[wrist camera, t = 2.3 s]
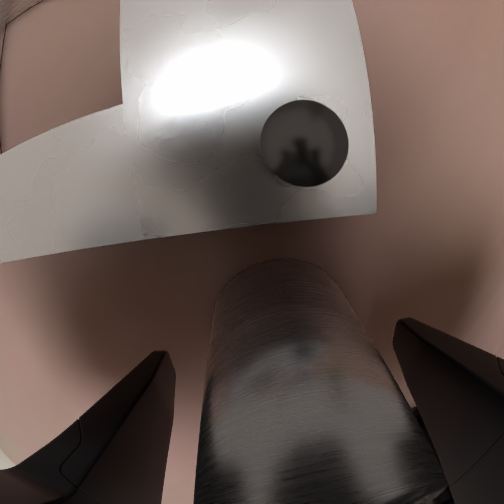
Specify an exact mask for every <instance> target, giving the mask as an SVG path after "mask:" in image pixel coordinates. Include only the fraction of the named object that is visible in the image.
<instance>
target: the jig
mask: <svg viewBox="0 0 504 504" xmlns="http://www.w3.org/2000/svg"><path fill="white" fill-rule="evenodd" d="M40 1H42V0H0V63H1V54H2V46H3V39H4V33H5V28H6V24H7V23H9V22H10V21H11V20H13V19H14V18H16V17H17V16H18V15H20V14H21V13H23V12H24V11H26V10H27V9H29V8H30V7H32V6H33V5H35V4H37V3H38V2H40ZM120 66H121V84H122V98H123V104H121V105H117V106H114V107H111V108H108V109H105V110H102V111H99V112H96V113H93V114H90V115H87V116H84V117H81V118H79V119H76V120H73V121H71V122H68V123H66V124H63V125H61V126H58V127H56V128H54V129H51V130H49V131H47V132H44V133H42V134H40V135H38V136H36V137H34V138H31V139H29V140H27V141H25V142H23V143H21V144H19V145H17V146H15V147H13V148H12V149H10V150H8V151H6V152H4V153H2V154H1V149H0V263H4V262H10V261H15V260H21V259H26V258H32V257H38V256H43V255H49V254H55V253H61V252H67V251H73V250H80V249H86V248H92V247H99V246H105V245H112V244H119V243H125V242H132V241H139V240H146V239H153V238H161V237H168V236H175V235H183V234H191V233H198V232H206V231H214V230H223V229H231V228H239V227H248V226H257V225H265V224H274V223H284V222H293V221H303V220H313V219H323V218H333V217H344V216H355V215H366V214H377V181H376V154H375V138H374V126H373V115H372V105H371V97H370V89H369V82H368V75H367V69H366V63H365V57H364V52H363V46H362V41H361V36H360V32H359V27H358V23H357V19H356V14H355V10H354V7H353V3H352V0H121V2H120Z"/></svg>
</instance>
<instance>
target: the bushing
mask: <svg viewBox="0 0 504 504" xmlns="http://www.w3.org/2000/svg"><path fill="white" fill-rule="evenodd" d="M447 485H448V482H447V480H446V478H445V476H444V473H443V471H442V469H441V467H440V465H439V463H438V461H437V459H436V457H435V454H434V452H433V450H432V448H431V446H430V444H429V442H428V440H427V438H426V436H425V434H424V432H423V431H422V429H421V427H420V425H419V423H418V421H417V419H416V417H415V415H414V413H413V411H412V410H411V408H410V406H409V404H408V402H407V400H406V399H405V397H404V395H403V393H402V391H401V389H400V388H399V386H398V384H397V382H396V381H395V379H394V377H393V375H392V374H391V372H390V370H389V368H388V367H387V365H386V363H385V361H384V360H383V358H382V356H381V355H380V353H379V351H378V349H377V348H376V346H375V344H374V343H373V341H372V339H371V338H370V336H369V334H368V333H367V331H366V330H365V328H364V326H363V325H362V323H361V321H360V320H359V318H358V317H357V315H356V313H355V312H354V310H353V309H352V307H351V305H350V304H349V302H348V301H347V299H346V298H345V296H344V294H343V293H342V291H341V290H340V288H339V287H338V285H337V284H336V282H335V281H334V280H333V278H332V277H331V276H330V275H329V274H327V273H326V272H325V271H324V270H322V269H321V268H319V267H317V266H315V265H313V264H310V263H307V262H304V261H299V260H293V259H276V260H270V261H265V262H262V263H259V264H256V265H254V266H251V267H249V268H247V269H245V270H244V271H242V272H240V273H239V274H238V275H236V276H235V277H234V278H233V279H232V280H231V281H230V282H229V283H228V284H227V285H226V286H225V287H224V289H223V290H222V291H221V293H220V295H219V297H218V299H217V302H216V304H215V308H214V313H213V321H212V328H211V336H210V344H209V352H208V360H207V368H206V377H205V386H204V394H203V404H202V413H201V423H200V433H199V443H198V454H197V465H196V477H195V490H194V504H427V503H429V502H430V501H432V500H433V499H434V498H436V497H437V496H438V495H439V494H440V493H442V492H443V491H444V489H445V488H446V487H447Z"/></svg>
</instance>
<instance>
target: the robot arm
mask: <svg viewBox="0 0 504 504" xmlns="http://www.w3.org/2000/svg"><path fill="white" fill-rule="evenodd" d="M393 348H394V350H395V353H396V356H397V359H398V361H399V364H400V367H401V370H402V372H403V375H404V378H405V381H406V383H407V386H408V388H409V390H410V393H411V395H412V397H413V399H414V401H415V403H416V405H417V408H418V409H417V410H414V411H413V413H414V415H415V417H416V419H417V421H418V423H419V425H420V427H421V429H422V431H423V432H424V434H425V436H426V438H427V440H428V442H429V444H430V446H431V448H432V450H433V452H434V454H435V457H436V459H437V461H438V463H439V465H440V467H441V469H442V471H443V473H444V476H445V478H446V480H447V482H448V485H447V487H446V488H445V489H444V491H443V492H442V493H440V494H439V495H438V496H437V497H436V498H434V499H433V500H432V501H430V502H429V503H427V504H504V359H502V358H499V357H496V356H495V355H493V354H490V353H488V352H486V351H484V350H482V349H479V348H477V347H475V346H473V345H471V344H468V343H466V342H464V341H462V340H459V339H457V338H455V337H453V336H450V335H448V334H446V333H444V332H442V331H439V330H437V329H435V328H433V327H430V326H428V325H426V324H424V323H421V322H419V321H417V320H415V319H412V318H410V317H407V318H403V319H399V320H398V321H397V323H396V327H395V332H394V337H393ZM175 380H176V374H175V369H174V367H173V364H172V361H171V359H170V356H169V353H168V352H167V351H165V350H161V351H153V352H152V353H151V354H149V355H148V356H147V357H146V358H145V359H144V360H143V361H142V362H141V363H140V364H138V365H137V366H136V367H135V368H134V369H133V370H132V371H131V372H130V373H129V374H127V375H126V376H125V377H124V378H123V379H122V380H121V381H120V382H119V383H117V384H116V385H115V386H114V387H113V388H112V389H111V390H110V391H109V392H107V393H106V394H105V395H104V396H103V397H102V398H101V399H100V400H99V401H97V402H96V403H95V404H94V405H93V406H92V407H91V408H90V409H88V410H87V411H86V412H85V413H84V414H83V415H82V416H81V417H80V418H79V419H77V420H76V421H75V422H74V423H73V424H72V425H70V426H69V427H68V428H67V429H66V430H65V431H63V432H62V433H61V434H60V435H59V436H57V437H56V438H55V439H53V440H52V441H51V442H49V443H48V444H47V445H45V446H44V447H43V448H41V449H40V450H38V451H37V452H36V453H34V454H33V455H31V456H30V457H28V458H27V459H25V460H24V461H23V462H21V463H20V464H18V465H16V466H14V467H12V468H9V469H4V470H0V504H161V500H162V492H163V485H164V478H165V470H166V464H167V457H168V450H169V444H170V438H171V432H172V426H173V417H174V398H175Z"/></svg>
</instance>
